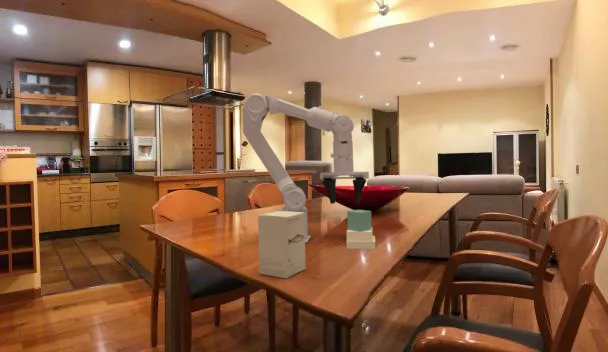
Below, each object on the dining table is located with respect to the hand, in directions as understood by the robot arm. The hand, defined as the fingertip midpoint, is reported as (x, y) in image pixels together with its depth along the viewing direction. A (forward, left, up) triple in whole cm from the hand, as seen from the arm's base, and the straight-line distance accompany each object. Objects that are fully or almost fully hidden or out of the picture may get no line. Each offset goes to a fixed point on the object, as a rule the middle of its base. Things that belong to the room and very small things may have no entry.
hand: (344, 203), depth 110 cm
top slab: (+4, -8, -9) cm, 13 cm away
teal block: (+4, -8, -6) cm, 11 cm away
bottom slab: (+5, -8, -11) cm, 14 cm away
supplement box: (-11, -33, -11) cm, 37 cm away
